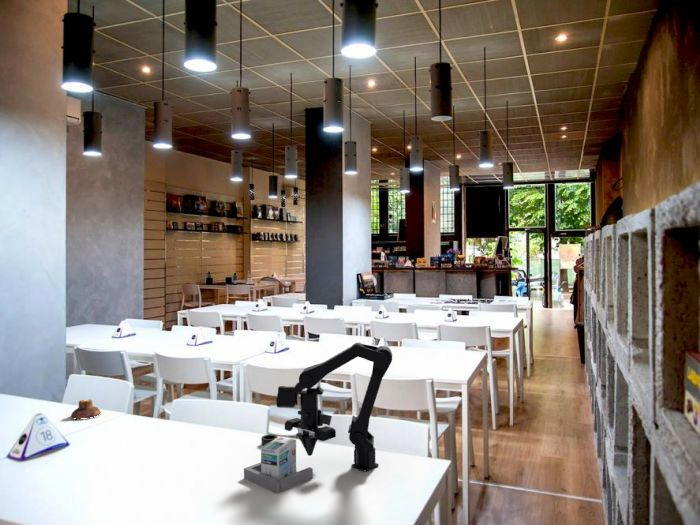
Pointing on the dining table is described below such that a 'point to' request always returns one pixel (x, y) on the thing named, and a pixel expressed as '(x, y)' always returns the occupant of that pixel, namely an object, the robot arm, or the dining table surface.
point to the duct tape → (267, 439)
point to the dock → (273, 484)
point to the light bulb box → (279, 458)
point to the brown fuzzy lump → (85, 410)
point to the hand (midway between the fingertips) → (310, 455)
